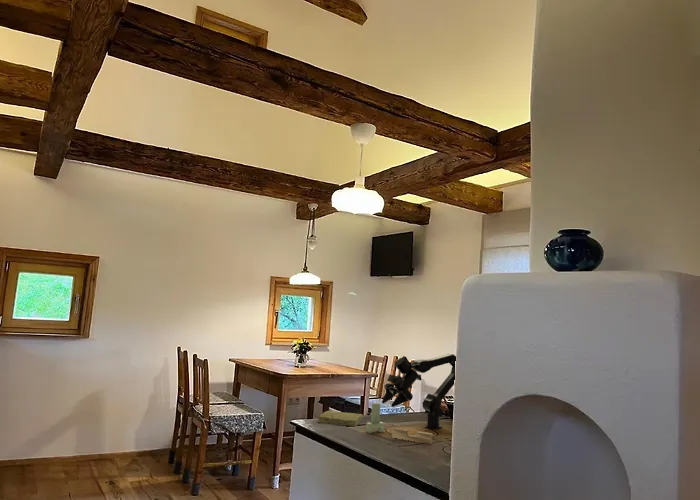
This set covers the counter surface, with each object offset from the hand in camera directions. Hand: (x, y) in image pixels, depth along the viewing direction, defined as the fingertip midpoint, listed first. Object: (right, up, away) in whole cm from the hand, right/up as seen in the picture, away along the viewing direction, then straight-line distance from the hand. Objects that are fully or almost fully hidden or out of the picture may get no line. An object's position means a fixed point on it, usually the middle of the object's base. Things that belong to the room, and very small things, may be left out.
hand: (387, 404), depth 255 cm
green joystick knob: (-6, -12, -4) cm, 14 cm away
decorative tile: (-23, -14, +16) cm, 31 cm away
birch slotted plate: (+10, -11, -18) cm, 23 cm away
